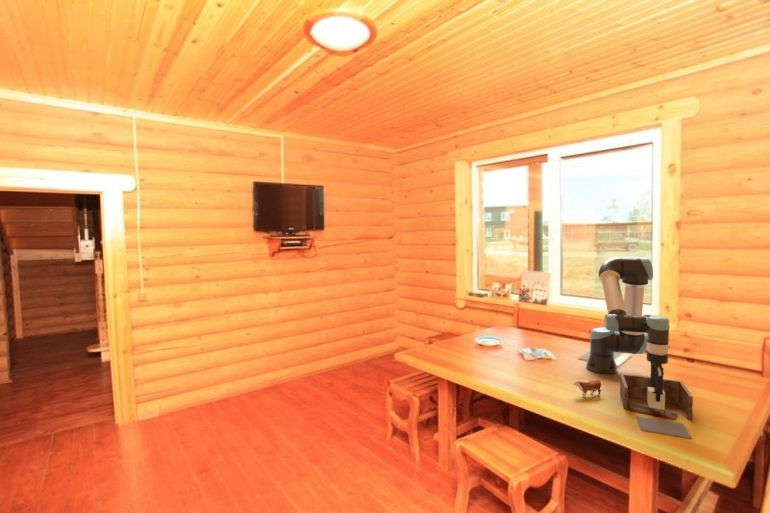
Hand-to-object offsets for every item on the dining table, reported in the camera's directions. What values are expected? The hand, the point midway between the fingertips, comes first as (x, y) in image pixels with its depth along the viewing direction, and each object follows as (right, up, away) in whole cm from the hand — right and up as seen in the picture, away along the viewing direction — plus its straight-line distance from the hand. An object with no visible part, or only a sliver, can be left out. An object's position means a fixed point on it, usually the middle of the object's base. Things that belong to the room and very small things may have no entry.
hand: (655, 405), depth 168 cm
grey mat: (-6, -4, -13) cm, 15 cm away
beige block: (0, 0, 0) cm, 0 cm away
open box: (+2, -3, +5) cm, 6 cm away
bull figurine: (-21, -2, +17) cm, 27 cm away
